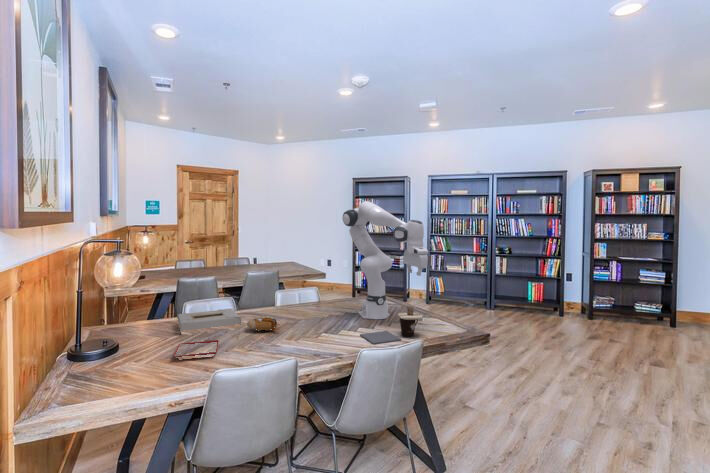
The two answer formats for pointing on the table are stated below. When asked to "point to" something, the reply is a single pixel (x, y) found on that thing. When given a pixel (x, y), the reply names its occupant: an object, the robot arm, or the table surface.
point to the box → (208, 319)
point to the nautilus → (263, 323)
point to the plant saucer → (199, 353)
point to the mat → (380, 337)
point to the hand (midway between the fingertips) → (414, 274)
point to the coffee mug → (407, 327)
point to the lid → (410, 314)
